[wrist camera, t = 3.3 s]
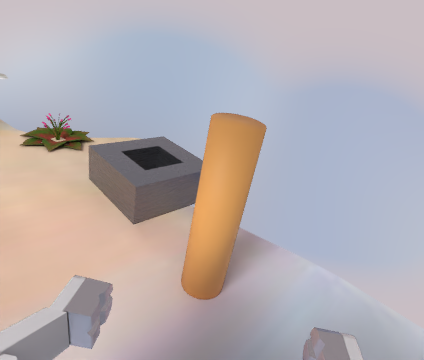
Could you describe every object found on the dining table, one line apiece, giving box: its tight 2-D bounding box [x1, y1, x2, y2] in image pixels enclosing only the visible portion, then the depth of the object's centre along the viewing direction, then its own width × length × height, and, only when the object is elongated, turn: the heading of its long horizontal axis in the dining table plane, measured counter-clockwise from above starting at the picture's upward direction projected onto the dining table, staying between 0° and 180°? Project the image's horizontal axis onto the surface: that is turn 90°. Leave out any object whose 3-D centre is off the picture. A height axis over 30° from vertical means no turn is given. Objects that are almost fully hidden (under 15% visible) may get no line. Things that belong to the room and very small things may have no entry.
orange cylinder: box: [181, 113, 266, 300], centre depth 24 cm, size 4×4×16 cm
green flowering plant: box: [20, 114, 92, 151], centre depth 49 cm, size 12×12×5 cm
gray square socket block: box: [89, 137, 203, 224], centre depth 40 cm, size 12×12×5 cm
